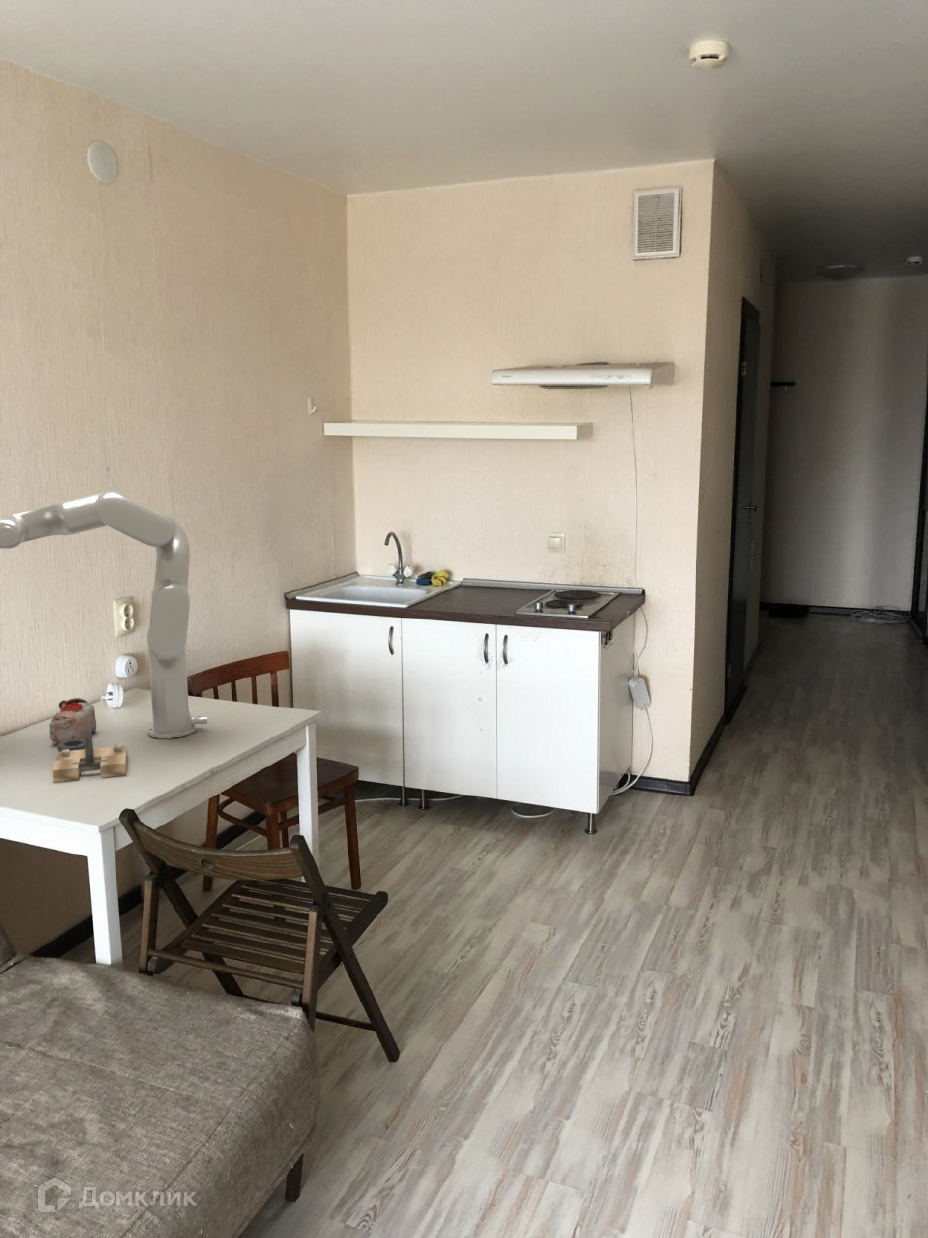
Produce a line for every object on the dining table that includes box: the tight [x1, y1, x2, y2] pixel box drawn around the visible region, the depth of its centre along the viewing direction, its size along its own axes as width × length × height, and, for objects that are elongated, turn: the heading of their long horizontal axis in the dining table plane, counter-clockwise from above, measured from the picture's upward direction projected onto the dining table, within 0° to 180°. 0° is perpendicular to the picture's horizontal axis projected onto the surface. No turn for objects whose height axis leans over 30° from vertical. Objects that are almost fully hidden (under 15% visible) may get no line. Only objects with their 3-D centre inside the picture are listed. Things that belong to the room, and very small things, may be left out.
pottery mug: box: [58, 697, 90, 713], centre depth 277 cm, size 12×10×8 cm
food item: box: [48, 702, 97, 744], centre depth 263 cm, size 14×8×10 cm, turn 177°
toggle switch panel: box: [52, 729, 128, 783], centre depth 239 cm, size 16×14×11 cm
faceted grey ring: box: [57, 739, 85, 753], centre depth 250 cm, size 7×7×3 cm
